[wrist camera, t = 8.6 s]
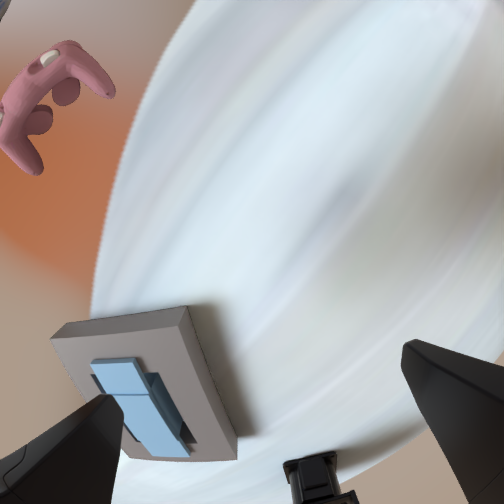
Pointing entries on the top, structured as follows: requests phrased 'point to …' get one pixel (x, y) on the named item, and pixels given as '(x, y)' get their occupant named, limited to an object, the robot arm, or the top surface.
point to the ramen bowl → (3, 7)
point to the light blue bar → (143, 405)
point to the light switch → (154, 360)
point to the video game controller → (35, 88)
